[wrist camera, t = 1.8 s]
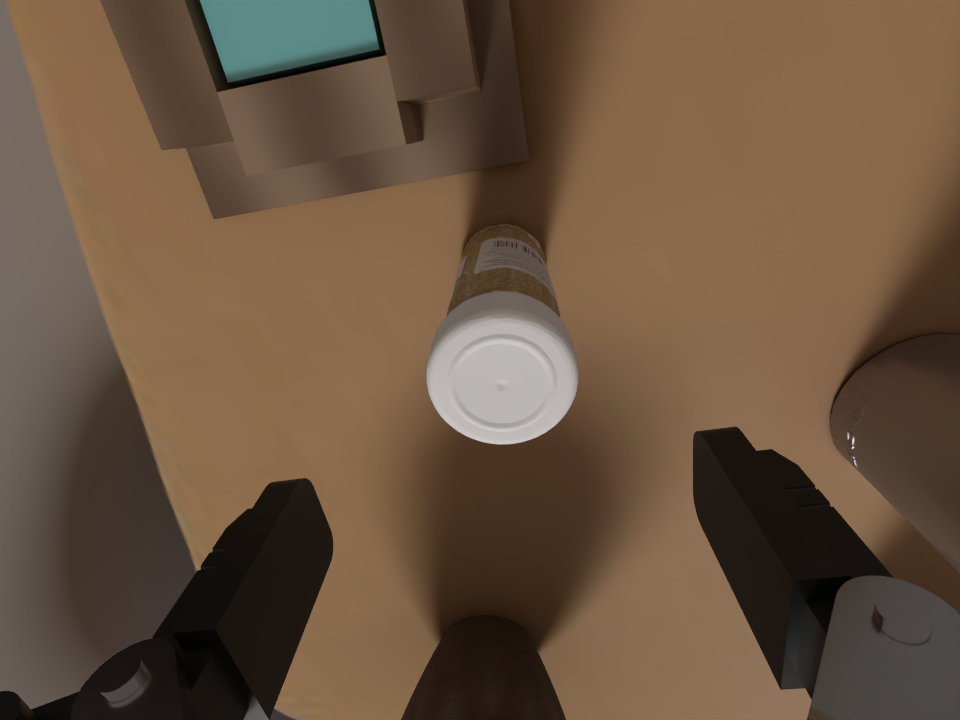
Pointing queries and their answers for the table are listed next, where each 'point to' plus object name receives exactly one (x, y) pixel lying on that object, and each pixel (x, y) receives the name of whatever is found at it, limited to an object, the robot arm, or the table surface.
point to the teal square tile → (290, 35)
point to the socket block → (331, 103)
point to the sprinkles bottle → (502, 343)
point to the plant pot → (485, 676)
